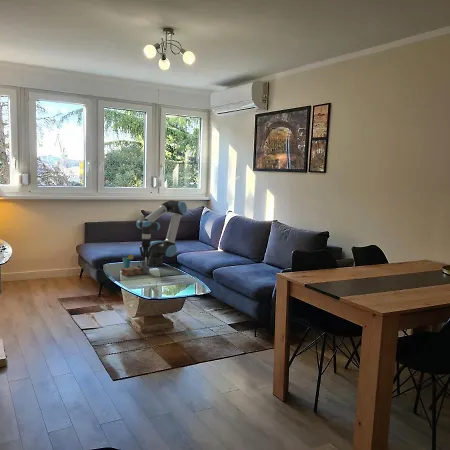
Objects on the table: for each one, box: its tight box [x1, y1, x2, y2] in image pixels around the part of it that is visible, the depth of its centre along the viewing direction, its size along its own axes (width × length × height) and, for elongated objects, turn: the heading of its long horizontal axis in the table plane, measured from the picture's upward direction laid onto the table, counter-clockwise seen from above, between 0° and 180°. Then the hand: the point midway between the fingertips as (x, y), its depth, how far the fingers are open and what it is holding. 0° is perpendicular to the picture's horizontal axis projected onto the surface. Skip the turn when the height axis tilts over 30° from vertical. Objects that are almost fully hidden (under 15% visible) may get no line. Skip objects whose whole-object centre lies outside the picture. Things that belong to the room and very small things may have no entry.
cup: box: [117, 253, 134, 268], centre depth 398 cm, size 14×8×15 cm, turn 116°
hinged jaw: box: [123, 268, 144, 277], centre depth 383 cm, size 18×3×5 cm, turn 128°
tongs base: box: [120, 266, 141, 276], centre depth 387 cm, size 24×6×5 cm, turn 129°
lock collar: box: [137, 260, 150, 275], centre depth 390 cm, size 6×10×10 cm, turn 39°
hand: (145, 264), depth 391 cm, fingers closed
